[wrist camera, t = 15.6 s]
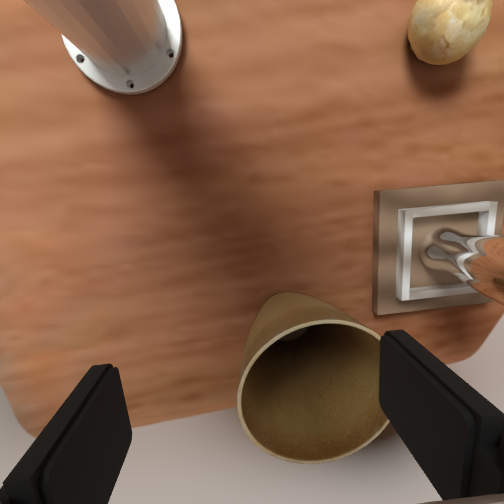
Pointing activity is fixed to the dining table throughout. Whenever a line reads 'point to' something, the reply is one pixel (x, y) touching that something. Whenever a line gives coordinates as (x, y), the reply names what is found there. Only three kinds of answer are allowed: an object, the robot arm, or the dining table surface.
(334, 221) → the dining table surface
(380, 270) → the holder board
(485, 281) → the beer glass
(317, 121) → the dining table surface
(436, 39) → the onion
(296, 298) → the plant pot
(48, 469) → the robot arm
